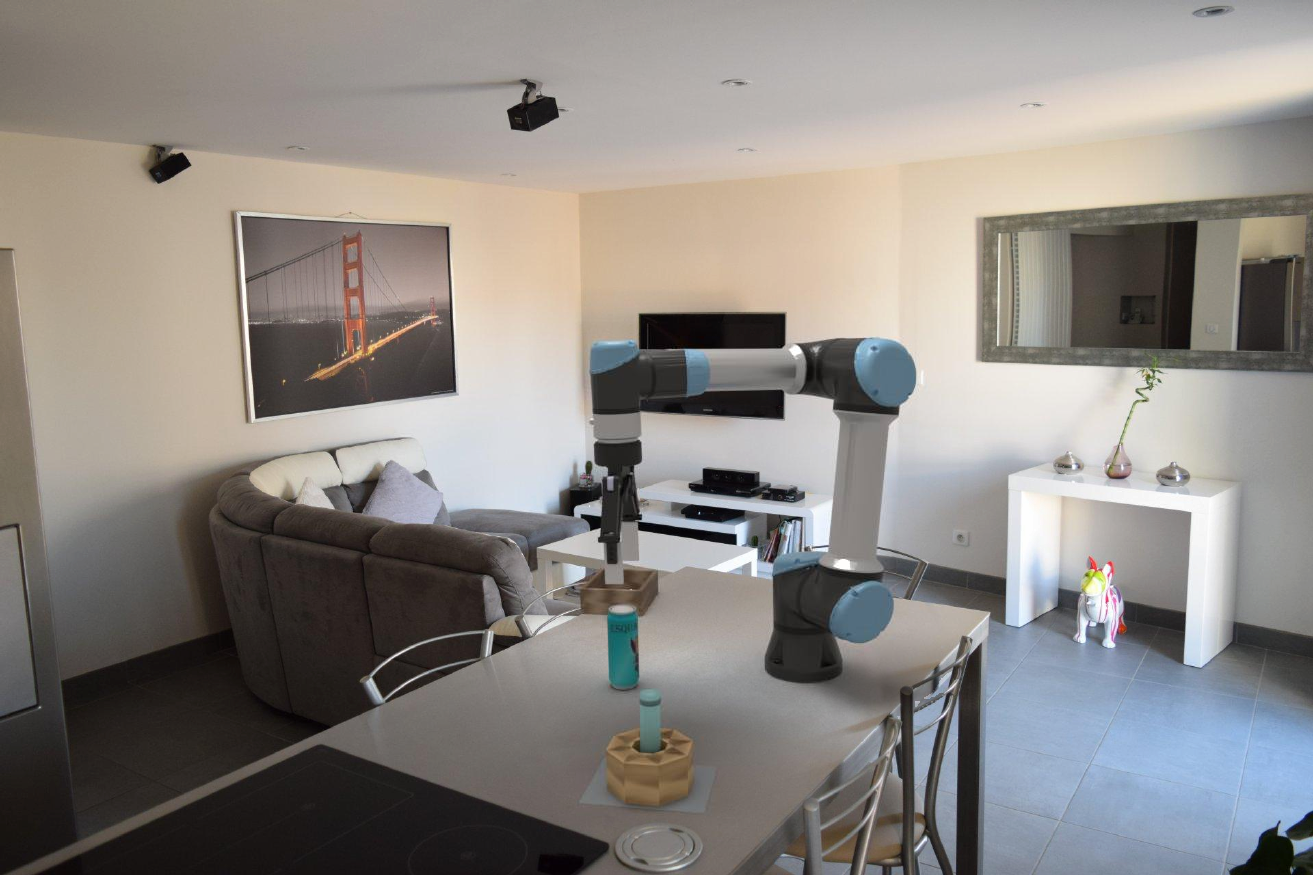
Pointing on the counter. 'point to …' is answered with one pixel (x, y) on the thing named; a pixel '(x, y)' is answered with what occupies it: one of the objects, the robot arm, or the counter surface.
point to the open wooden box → (619, 592)
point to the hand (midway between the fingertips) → (623, 571)
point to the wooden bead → (650, 768)
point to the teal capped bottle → (650, 721)
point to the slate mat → (688, 804)
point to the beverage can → (623, 646)
